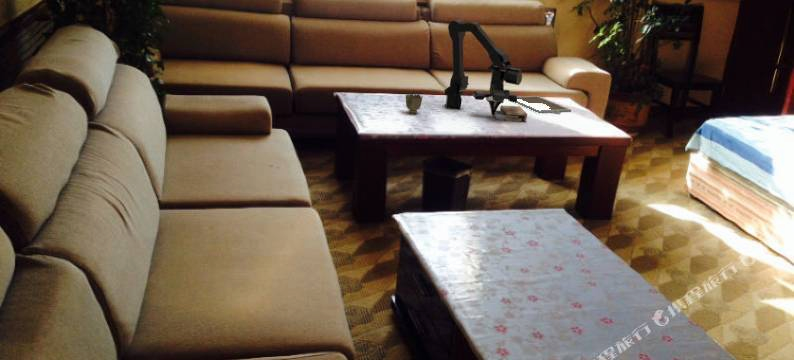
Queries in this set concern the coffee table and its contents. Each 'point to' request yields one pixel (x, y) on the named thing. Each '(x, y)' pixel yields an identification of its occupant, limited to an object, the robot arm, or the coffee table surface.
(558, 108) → the grey picture frame
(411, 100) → the cup
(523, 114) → the overhang
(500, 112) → the grey shallow tray
